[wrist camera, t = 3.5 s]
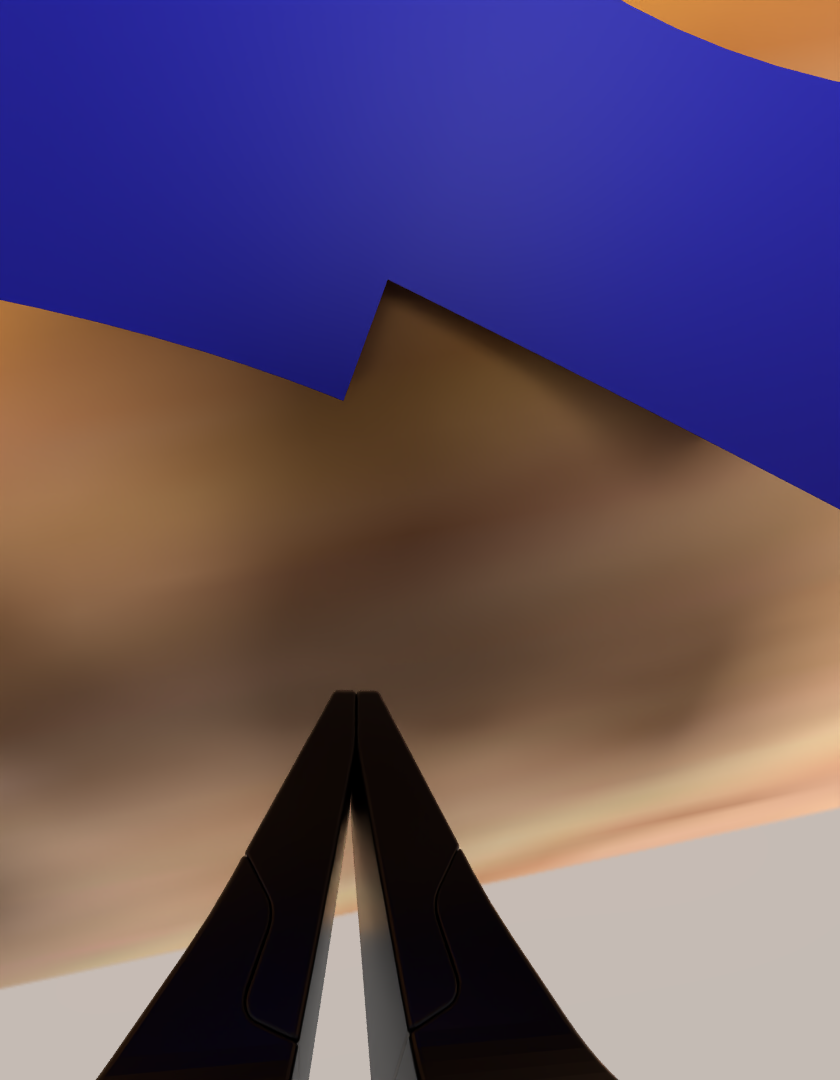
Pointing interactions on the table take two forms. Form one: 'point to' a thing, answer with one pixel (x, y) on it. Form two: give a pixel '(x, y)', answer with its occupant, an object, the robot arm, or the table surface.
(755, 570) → the table surface
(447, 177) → the cable clip
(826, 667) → the table surface
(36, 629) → the table surface
